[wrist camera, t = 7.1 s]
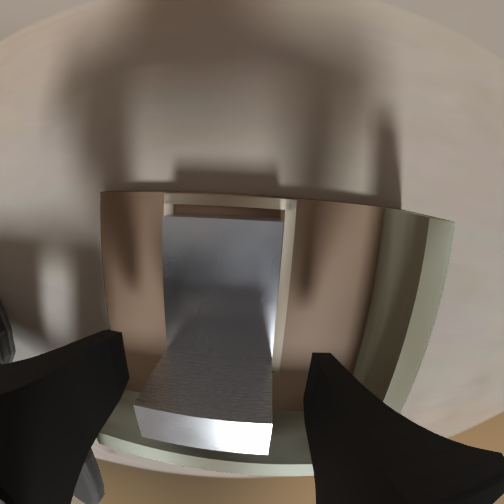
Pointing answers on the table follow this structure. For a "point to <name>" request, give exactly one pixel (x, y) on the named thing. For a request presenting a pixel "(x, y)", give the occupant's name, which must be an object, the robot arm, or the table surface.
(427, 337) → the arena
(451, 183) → the table surface
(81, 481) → the zipper pull
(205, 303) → the angle bracket
